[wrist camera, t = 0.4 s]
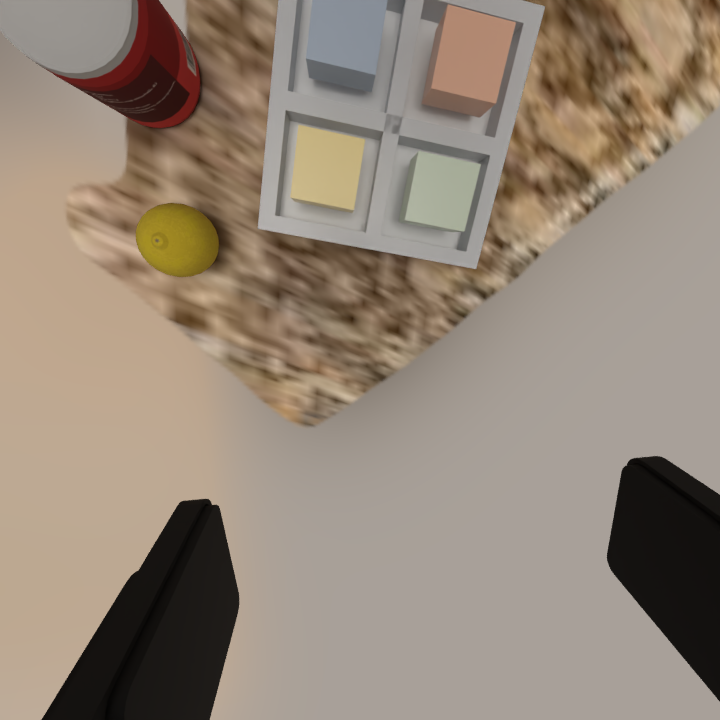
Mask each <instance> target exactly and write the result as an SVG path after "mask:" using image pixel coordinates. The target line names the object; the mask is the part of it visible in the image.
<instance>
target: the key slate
mask: <svg viewBox="0 0 720 720" xmlns="http://www.w3.org/2000/svg"><path fill="white" fill-rule="evenodd" d="M387 1H388V0H312V8H311V17H310V26H309V35H308V44H307V52H306V62H307V68H308V74H309V78H312V79H316V80H321V81H325V82H329V83H333V84H338V85H342V86H346V87H351V88H355V89H359V90H364V91H368V92H372V88H373V84H374V80H375V75H376V70H377V63H378V57H379V51H380V45H381V38H382V32H383V26H384V20H385V13H386V7H387Z"/></svg>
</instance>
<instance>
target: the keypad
mask: <svg viewBox="0 0 720 720" xmlns="http://www.w3.org/2000/svg"><path fill="white" fill-rule="evenodd" d="M447 5H452V6H456V7H460V8H463V9H467V10H471V11H475V12H479V13H482V14H486V15H490V16H494V17H497V18H501V19H505V20H509V21H513V22H516V24H515V28H514V32H513V36H512V40H511V44H510V48H509V52H508V57H507V61H506V65H505V69H504V73H503V77H502V81H501V85H500V89H499V93H498V97H497V101H496V104H495V105H494V106H493V107H491V108H490V109H489V110H488V111H487V112H486V113H484V114H483V115H482V116H481V117H475V116H471V115H467V114H463V113H458V112H454V111H450V110H445V109H441V108H437V107H432V106H428V105H424V104H421V103H422V98H423V93H424V88H425V83H426V78H427V73H428V68H429V62H430V57H431V52H432V47H433V42H434V37H435V32H436V29H437V26H438V24H439V22H440V20H441V18H442V16H443V14H444V12H445V9H446V7H447ZM311 8H312V0H278V11H277V22H276V33H275V44H274V55H273V66H272V77H271V88H270V100H269V111H268V122H267V133H266V144H265V155H264V166H263V177H262V188H261V199H260V210H259V221H258V229H262V230H268V231H273V232H278V233H284V234H289V235H295V236H300V237H305V238H311V239H316V240H322V241H327V242H332V243H338V244H343V245H349V246H354V247H360V248H365V249H370V250H376V251H381V252H387V253H392V254H397V255H403V256H408V257H414V258H419V259H424V260H430V261H435V262H441V263H446V264H451V265H457V266H462V267H468V268H473V269H476V268H477V264H478V260H479V256H480V253H481V249H482V245H483V241H484V237H485V234H486V230H487V226H488V222H489V218H490V214H491V211H492V207H493V203H494V199H495V195H496V192H497V188H498V184H499V180H500V176H501V173H502V169H503V165H504V161H505V157H506V154H507V150H508V146H509V142H510V138H511V135H512V131H513V127H514V123H515V119H516V116H517V112H518V108H519V104H520V100H521V96H522V93H523V89H524V85H525V81H526V77H527V74H528V70H529V66H530V62H531V58H532V55H533V51H534V47H535V43H536V39H537V36H538V32H539V28H540V24H541V20H542V17H543V13H544V9H545V6H542V5H538V4H534V3H531V2H527V1H523V0H388V1H387V7H386V13H385V20H384V26H383V32H382V38H381V45H380V51H379V57H378V63H377V70H376V75H375V80H374V84H373V88H372V92H368V91H364V90H359V89H355V88H351V87H346V86H342V85H338V84H333V83H329V82H325V81H321V80H316V79H312V78H309V74H308V68H307V62H306V52H307V44H308V35H309V26H310V17H311ZM298 125H302V126H307V127H311V128H316V129H320V130H325V131H330V132H334V133H339V134H343V135H348V136H353V137H357V138H362V139H365V144H364V151H363V157H362V163H361V169H360V175H359V182H358V188H357V194H356V200H355V207H354V211H353V213H350V212H345V211H339V210H334V209H329V208H324V207H319V206H314V205H309V204H304V203H298V202H294V201H293V200H292V199H291V198H290V195H291V186H292V177H293V168H294V159H295V151H296V142H297V133H298ZM418 151H421V152H426V153H431V154H435V155H440V156H444V157H449V158H454V159H458V160H463V161H467V162H472V163H477V164H481V166H480V170H479V174H478V178H477V182H476V186H475V190H474V195H473V199H472V203H471V207H470V211H469V215H468V219H467V223H466V227H465V231H464V232H453V233H452V232H447V231H442V230H437V229H432V228H427V227H422V226H416V225H411V224H406V223H401V222H398V221H399V216H400V211H401V206H402V201H403V196H404V191H405V185H406V180H407V175H408V170H409V165H410V160H411V159H412V158H413V157H414V155H415V154H416V153H417V152H418Z"/></svg>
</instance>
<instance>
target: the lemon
mask: <svg viewBox="0 0 720 720" xmlns="http://www.w3.org/2000/svg"><path fill="white" fill-rule="evenodd" d="M136 242H137V245H138V249H139V251H140V252H141V254H142V256H143V257H144V258H145V260H146V261H147V262H148V263H149V264H150V265H151V266H153V267H154V268H155V269H157V270H159V271H161V272H163V273H165V274H168V275H172V276H178V277H188V276H194V275H197V274H200V273H202V272H203V271H205V270H206V269H208V268H209V267H210V266H211V265H212V263H213V262H214V261H215V259H216V257H217V254H218V249H219V240H218V235H217V232H216V229H215V228H214V226H213V225H212V223H211V221H210V220H209V219H208V218H207V217H206V216H205V215H204V214H202V213H201V212H199V211H198V210H196V209H195V208H192V207H190V206H187V205H184V204H176V203H168V204H163V205H158V206H156V207H154V208H152V209H150V210H149V211H147V212H146V213H145V214H144V215H143V216H142V218H141V219H140V221H139V223H138V225H137V229H136Z"/></svg>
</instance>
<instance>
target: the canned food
mask: <svg viewBox="0 0 720 720" xmlns="http://www.w3.org/2000/svg"><path fill="white" fill-rule="evenodd" d="M0 31H1V32H2V34H3V35H4V36H5V37H6V38H7V39H8V40H9V41H10V42H11V43H12V44H13V45H14V46H15V47H16V48H17V49H18V50H19V51H21V52H22V53H23V54H25V55H26V56H27V57H28V58H30V59H31V60H33V61H34V62H36V63H37V64H38V65H40V66H41V67H43V68H44V69H46V70H48V71H50V72H51V73H53V74H54V75H55V76H57V77H59V78H61V79H62V80H64V81H66V82H68V83H69V84H71V85H73V86H74V87H76V88H78V89H80V90H81V91H83V92H85V93H87V94H88V95H90V96H92V97H93V98H95V99H97V100H99V101H100V102H102V103H104V104H105V105H107V106H109V107H110V108H112V109H114V110H116V111H118V112H119V113H121V114H123V115H124V116H126V117H128V118H129V119H131V120H133V121H135V122H137V123H139V124H141V125H145V126H148V127H154V128H165V127H171V126H175V125H177V124H179V123H182V122H183V121H184V120H185V119H187V118H188V117H189V116H190V114H191V113H192V112H193V111H194V109H195V107H196V105H197V102H198V98H199V94H200V75H199V67H198V64H197V60H196V57H195V54H194V52H193V50H192V48H191V45H190V43H189V42H188V40H187V39H186V37H185V36H184V34H183V33H182V31H181V30H180V29H179V27H178V26H177V25H176V23H175V22H174V21H173V19H172V18H171V16H170V15H169V14H168V12H167V11H166V10H165V8H164V7H163V5H162V4H161V3H160V1H159V0H0Z"/></svg>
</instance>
